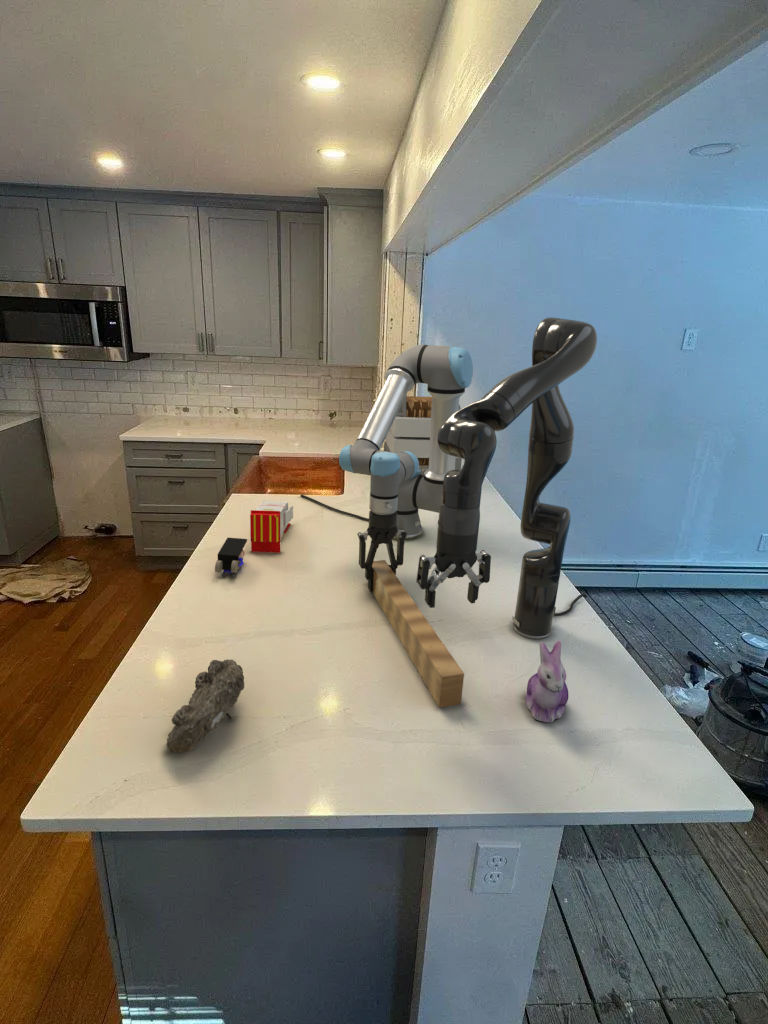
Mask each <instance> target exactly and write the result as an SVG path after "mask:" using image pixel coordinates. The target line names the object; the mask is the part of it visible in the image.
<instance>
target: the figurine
mask: <svg viewBox="0 0 768 1024" xmlns="http://www.w3.org/2000/svg"><path fill="white" fill-rule="evenodd" d="M562 647H563V644H562V641H561V640H557V641H556V642H554V645H553V647H552V649H551V651H550V650H549V648H548V647H547V645H546V644H545V642H543V641H540V642H539V657H540V665H538V668H537V672H536V673H534V674H533V675H531V676H530V677H529V679H528V682H527V685H526V694H525V705H526V709H527V710H528V711H529V712H530V713H531V715H532V718H533V719H534V720H537V721H540V722H544V723H553V722H554V721H555V720H559V719H562V717H563V715H564V713H565V710H566V706H567V703H568V701H569V697H570V696H569V689H568V686H567V683H566V680H567V671H566V669H565V666H564V664H563V661H562V659H561V657H562Z"/></svg>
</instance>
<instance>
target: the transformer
mask: <svg viewBox="0 0 768 1024" xmlns="http://www.w3.org/2000/svg"><path fill="white" fill-rule="evenodd" d="M407 394H408V393H407ZM407 394H406V396H405V399H404V401H403V403H402V405H401V407H400V409H399V411H398V413H397V415H396V417H395V420H394V422H393V424H392V426H391V428H390V430H389V432H388V434H387V436H386V438H385V440H384V443H383V451H387V452H393V453H399V452H402V451H403V452H404V451H409V452H412V453H413V454H414V455H416V457H417V459H418V461H419V467H429V452H430V430H431V408H432V396H415V395H414V396H413V395H412V396H411V395H407ZM460 409H462V408H461V405H460V404H459V410H460ZM462 461H463V459H462V458H458V457H456V459H455V469H462Z"/></svg>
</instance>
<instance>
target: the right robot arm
mask: <svg viewBox="0 0 768 1024" xmlns="http://www.w3.org/2000/svg"><path fill="white" fill-rule="evenodd" d="M597 344H598V334H597V330H596V328H595V326H593V325H592V324H591V323H588V322H585V321H581V320H575V319H569V318H561V317H551V316H550V317H545V318H543V319H542V320H541V321H540V322H539V323H538V325H537V327H536V329H535V331H534V335H533V339H532V346H531V347H532V348H531V366H529V367H525V368H524V369H521V370H519V371H516V372H514V373H511V374H510V375H507V376H506V377H504V378H503V379H500V380H499V382H497V383H496V384H495V385H494V386H493V387H492V388H491V389H489V391H487V393H485V394H484V395H483V396H482V397H481V398H480V399H478V400H476V401H474V402H472V403H470V404H468V405H466V406H464V407H462V408H461V409H460V410H459V411H457V412H455V413H453V414H452V415H451V416H449V417H448V418H447V419H446V420H445V421H444V422H443V424H442V425H441V427H440V429H439V431H438V435H437V442H438V446H439V448H440V449H441V450H442V451H443V452H444V453H446V454H448V455H451V456H454V457H458V458H462V460H464V461H463V464H462V466H461V469H455V470H450V471H448V472H447V473H446V474H445V476H444V480H443V489H442V502H441V507H440V512H439V513H438V520H437V535H436V546H435V547H436V548H435V549H436V552H435V555H433V556H426V555H424V554H420V556H419V557H418V564H417V572H416V573H417V574H416V584H417V585H418V586H419V588H420V589H421V590H425V591H424V602H425V603H426V605H427V606H428V607H429V608H430V609H434V608H435V604H436V595H437V594H436V592H437V591H436V589H437V588H438V587H439V585H440V584H443V583H444V582H445V580H446V579H454V578H464V577H465V575H466V577H467V578H468V579H469V580H470V582H468V586H467V596H466V598H467V601H468V603H470V604H471V605H472V604H475V603H476V601H478V599H479V591H480V586H481V585H482V584H488V583H489V582H490V580H491V562H492V556H491V555H490V554H489V553H488V552H487V551H486V550H484V549H481V550H480V551H479V552H477V549H478V541H479V530H480V523H481V522H480V521H481V500H482V489H483V484H484V481H485V478H486V475H487V472H488V470H489V468H490V465H491V462H492V460H493V457H494V456H495V452H496V449H497V444H498V443H497V435H496V432H501V431H504V430H505V429H507V428H508V427H509V426H510V425H512V423H513V422H515V420H516V419H517V418H519V416H520V415H521V414H522V413H523V412H524V411H525V410H526V409H527V408H528V407H530V406H531V416H530V425H529V433H528V434H529V435H528V446H527V447H528V448H527V469H526V482H525V491H524V498H523V504H522V509H521V518H520V534H521V536H522V537H523V539H526V540H529V541H533V542H538V543H543V544H547V545H549V546H547V547H544V548H539V549H531V550H528V551H526V552H525V553H524V554H523V555H522V559H521V566H520V572H519V574H520V575H519V582H518V589H517V595H516V602H515V603H516V604H515V609H514V610H515V611H514V616H511V617H512V618H511V621H512V622H513V623H512V628H513V629H512V630H513V631H514V632H515V633H517V634H518V635H520V636H522V637H524V638H527V639H531V640H532V639H533V640H543V639H546V638H548V637H550V636H551V634H552V625H553V621H554V617H560V616H564V615H566V614H568V613H570V612H572V610H573V609H574V605H575V604H576V603H577V602H578V601H579V600H580V599H581V598H582V597H584V598H588V595H587V594H586V593H581V594H579V595H578V596H577V597H576V598H574V600H572V602H571V603H570V605H569V608H568V609H566V610H564V611H561V612H556V609H557V607H556V603H557V596H558V589H559V584H560V578H561V571H562V565H563V559H564V552H565V547H566V543H567V538H568V534H569V530H570V524H571V517H572V516H571V511H570V509H569V508H567V507H565V506H561V505H557V504H551V503H546V502H541V501H540V496H541V495H542V493H543V492H544V490H545V489H546V488H547V486H548V485H549V484H550V483H551V481H552V480H553V479H554V478H556V476H557V475H558V474H559V473H560V472H561V471H562V470H563V469H564V468H565V467H566V465H567V464H568V463H569V461H570V459H571V458H572V454H573V445H574V436H575V426H574V421H573V418H572V416H571V413H570V411H569V409H568V406H567V404H566V402H565V399H564V398H563V396H562V393H561V390H560V386H559V385H560V384H562V383H563V382H565V381H566V380H567V379H569V378H570V377H572V376H573V375H576V374H577V373H578V372H579V371H581V370H582V369H583V368H585V366H587V364H588V363H589V362H590V361H591V359H592V358H593V356H594V354H595V352H596V348H597ZM476 562H477V563H478V574H476V573H475V572H474V570H473V566H474V565H475V564H476ZM433 565H435V567H434V568H433V569H432V567H433ZM431 569H432V570H431ZM430 570H431V572H430ZM429 572H430V575H429Z"/></svg>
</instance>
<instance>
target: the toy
mask: <svg viewBox="0 0 768 1024" xmlns="http://www.w3.org/2000/svg"><path fill="white" fill-rule="evenodd" d="M293 518H294V505H290V506H289V501H283V500H282V501H278V500H277V501H276V500H263V501H262V502H261V503H260V504H259V505H258V506H257V507H256V508H254V510H253V509H251V510H250V514H249V528H250V529H249V530H250V551H251V553H272V554H273V553H281V538H282V537H283V534H287V531H288V530H289V528H290V527H291V525H292V524H291V521H292V520H293Z"/></svg>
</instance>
